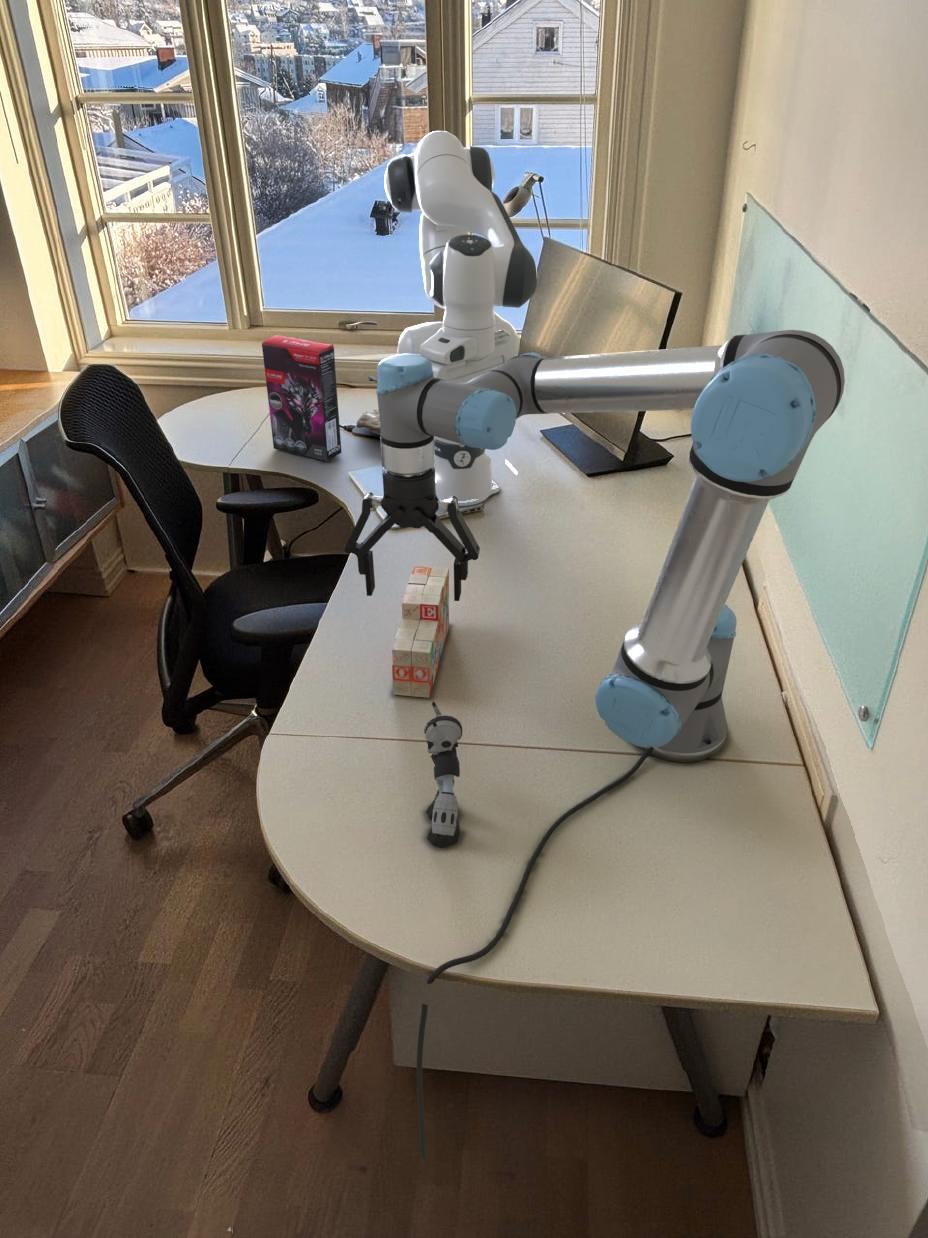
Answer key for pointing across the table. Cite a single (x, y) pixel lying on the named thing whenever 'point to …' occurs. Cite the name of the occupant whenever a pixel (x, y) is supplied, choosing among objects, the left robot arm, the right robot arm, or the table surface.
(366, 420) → the stone
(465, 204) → the left robot arm
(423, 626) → the stack of blocks
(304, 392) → the graphics card box
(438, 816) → the robot
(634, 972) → the table surface
